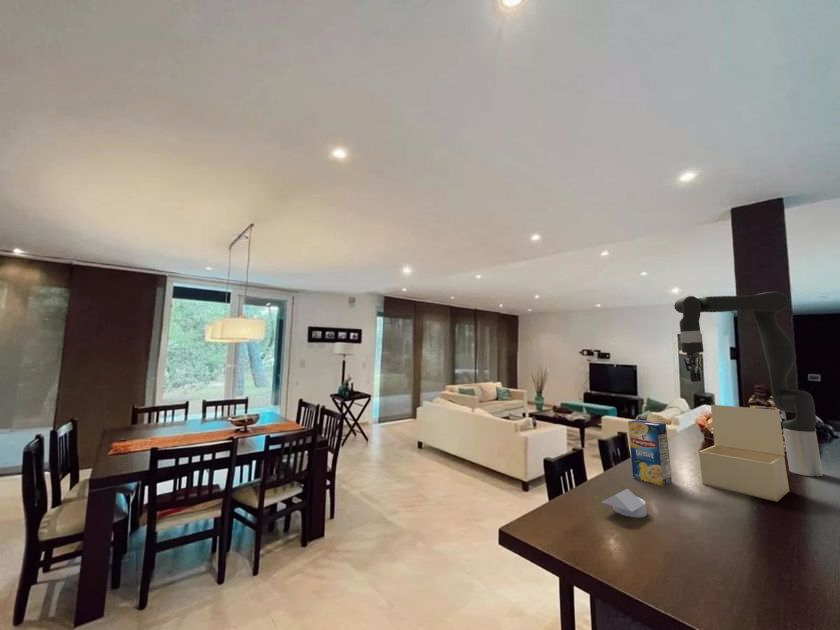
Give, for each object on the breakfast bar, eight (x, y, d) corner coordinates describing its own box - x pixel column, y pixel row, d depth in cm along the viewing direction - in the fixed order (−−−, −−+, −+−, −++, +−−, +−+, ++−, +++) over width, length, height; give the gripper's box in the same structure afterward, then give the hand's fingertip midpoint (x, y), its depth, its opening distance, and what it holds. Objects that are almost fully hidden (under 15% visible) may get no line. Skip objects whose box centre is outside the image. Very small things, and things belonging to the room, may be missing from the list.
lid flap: (714, 445, 141) (720, 444, 145) (784, 455, 125) (788, 454, 128) (710, 404, 144) (716, 404, 148) (778, 409, 128) (783, 409, 131)
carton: (718, 476, 140) (714, 445, 141) (789, 491, 123) (784, 456, 125) (702, 484, 131) (698, 451, 133) (776, 501, 114) (771, 463, 116)
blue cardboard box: (663, 486, 130) (657, 425, 133) (632, 478, 139) (627, 421, 142) (672, 482, 133) (666, 423, 136) (642, 475, 143) (637, 419, 146)
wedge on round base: (633, 524, 101) (651, 512, 108) (630, 499, 102) (649, 489, 109) (601, 513, 108) (621, 503, 116) (599, 490, 109) (619, 481, 116)
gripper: (688, 342, 160) (692, 380, 158) (674, 342, 152) (679, 381, 150) (708, 341, 154) (713, 381, 152) (695, 341, 146) (700, 382, 144)
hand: (696, 381), depth 151 cm, fingers open, 3 cm apart
